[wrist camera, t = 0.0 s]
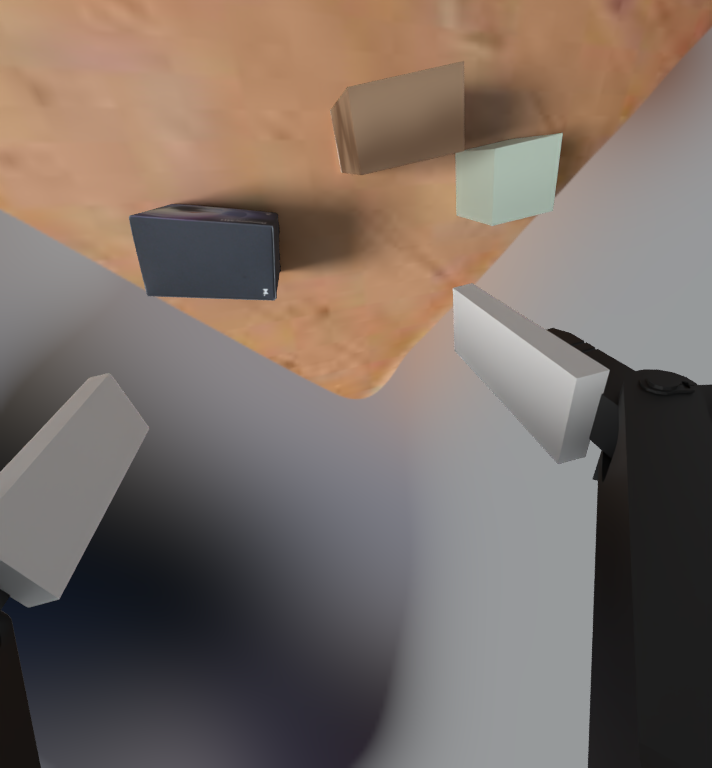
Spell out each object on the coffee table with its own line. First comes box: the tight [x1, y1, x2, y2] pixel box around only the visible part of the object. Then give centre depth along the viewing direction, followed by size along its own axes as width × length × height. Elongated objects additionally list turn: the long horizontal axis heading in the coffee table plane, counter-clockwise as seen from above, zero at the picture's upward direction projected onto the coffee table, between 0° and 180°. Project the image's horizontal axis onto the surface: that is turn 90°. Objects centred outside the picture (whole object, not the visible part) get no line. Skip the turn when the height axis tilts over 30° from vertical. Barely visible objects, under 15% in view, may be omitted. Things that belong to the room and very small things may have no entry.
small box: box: [129, 204, 281, 300], centre depth 31 cm, size 11×6×10 cm, turn 85°
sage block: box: [455, 133, 563, 226], centre depth 33 cm, size 6×6×8 cm
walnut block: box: [330, 61, 465, 175], centre depth 28 cm, size 5×8×11 cm, turn 101°
